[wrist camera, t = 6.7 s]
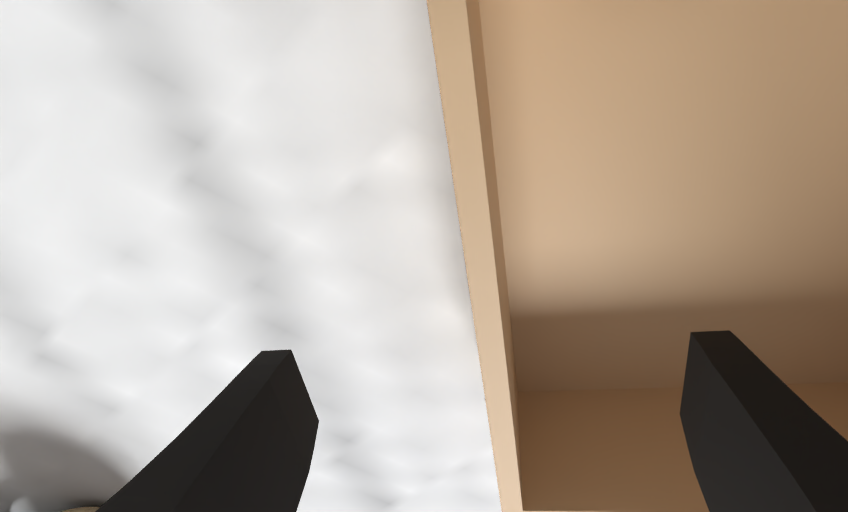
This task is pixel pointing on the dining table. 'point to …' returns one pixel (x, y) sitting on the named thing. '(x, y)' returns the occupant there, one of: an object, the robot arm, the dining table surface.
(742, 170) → the carton
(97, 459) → the dining table surface
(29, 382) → the dining table surface
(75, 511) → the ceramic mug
